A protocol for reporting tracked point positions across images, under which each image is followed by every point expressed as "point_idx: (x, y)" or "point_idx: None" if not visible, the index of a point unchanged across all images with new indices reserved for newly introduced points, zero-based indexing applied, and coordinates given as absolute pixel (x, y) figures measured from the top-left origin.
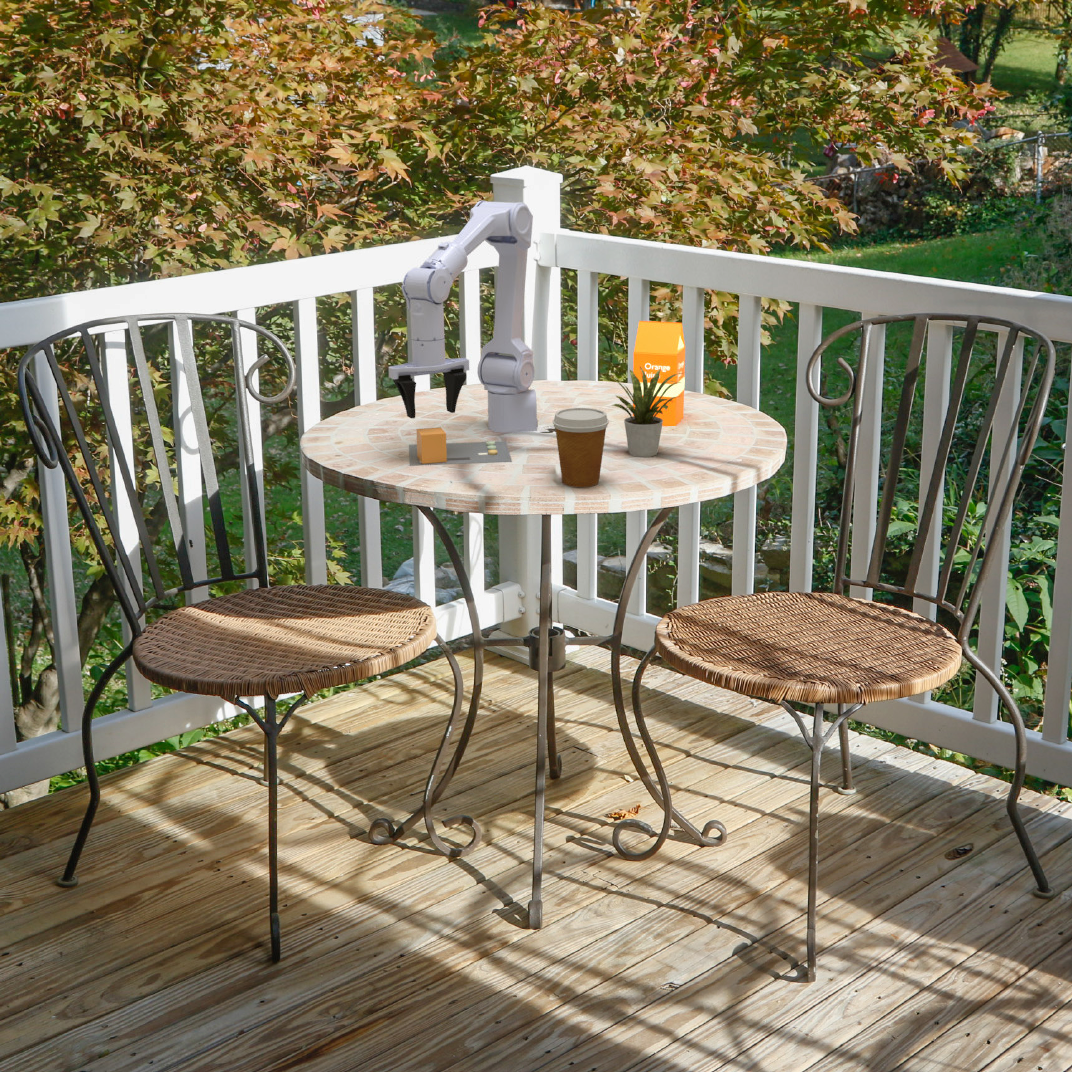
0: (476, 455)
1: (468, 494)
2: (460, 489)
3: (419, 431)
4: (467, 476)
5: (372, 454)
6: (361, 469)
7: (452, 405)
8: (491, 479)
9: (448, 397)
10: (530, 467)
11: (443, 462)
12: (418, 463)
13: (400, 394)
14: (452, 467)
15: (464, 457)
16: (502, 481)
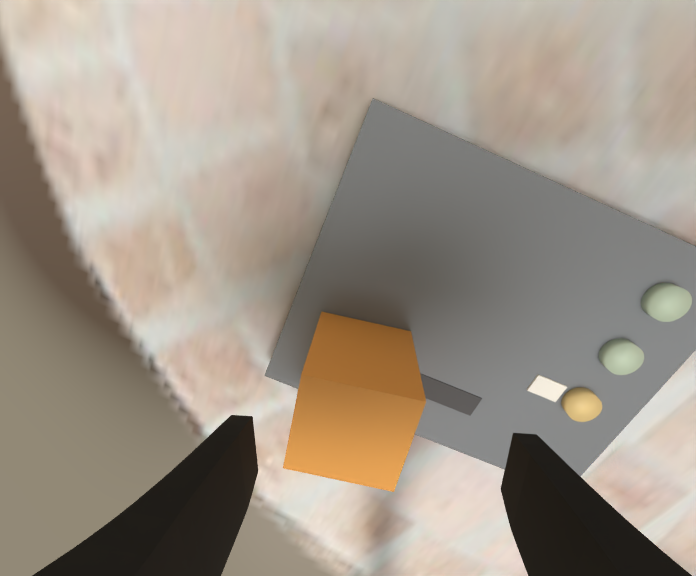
0: (518, 388)
1: (340, 555)
2: (340, 524)
3: (297, 419)
4: (409, 456)
5: (221, 41)
6: (139, 235)
7: (520, 548)
8: (450, 503)
9: (558, 546)
10: (613, 476)
11: None
12: (299, 370)
13: (90, 537)
14: None
15: (468, 388)
16: (463, 526)
